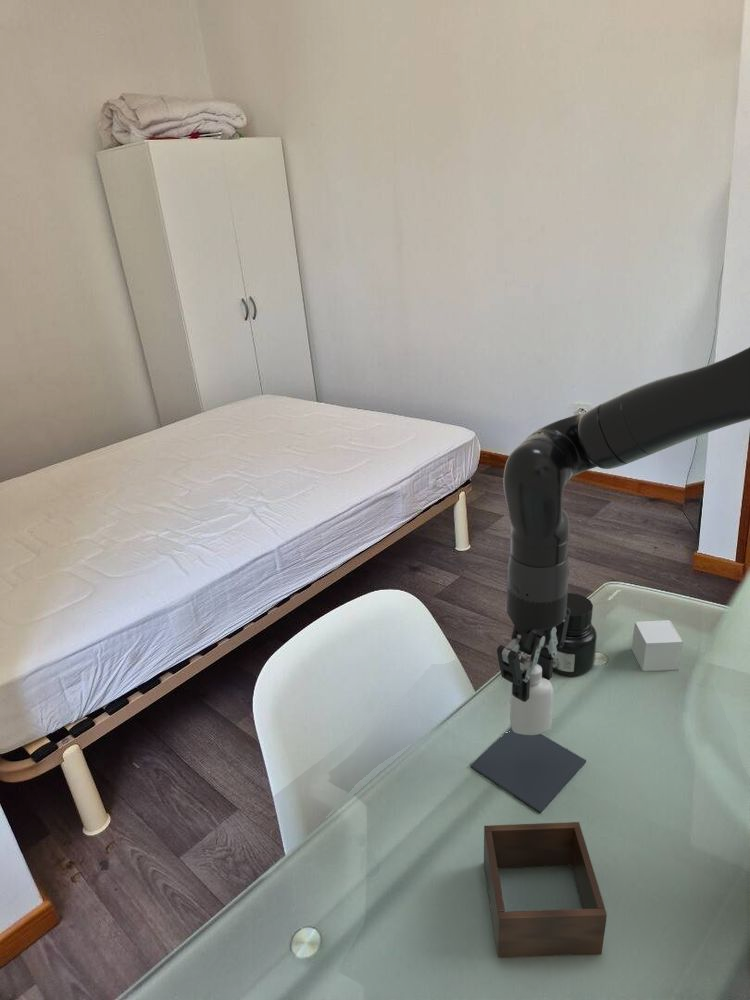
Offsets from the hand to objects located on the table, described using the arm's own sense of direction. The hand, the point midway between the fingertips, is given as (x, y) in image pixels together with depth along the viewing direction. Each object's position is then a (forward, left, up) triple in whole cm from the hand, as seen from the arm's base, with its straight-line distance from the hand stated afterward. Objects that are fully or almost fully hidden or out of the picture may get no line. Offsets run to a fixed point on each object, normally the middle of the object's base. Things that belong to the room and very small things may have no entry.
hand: (532, 686), depth 94 cm
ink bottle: (+8, -24, -15) cm, 29 cm away
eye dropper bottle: (0, 0, -8) cm, 8 cm away
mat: (0, 0, -15) cm, 15 cm away
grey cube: (-3, -34, -15) cm, 37 cm away
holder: (-13, +17, -15) cm, 26 cm away
